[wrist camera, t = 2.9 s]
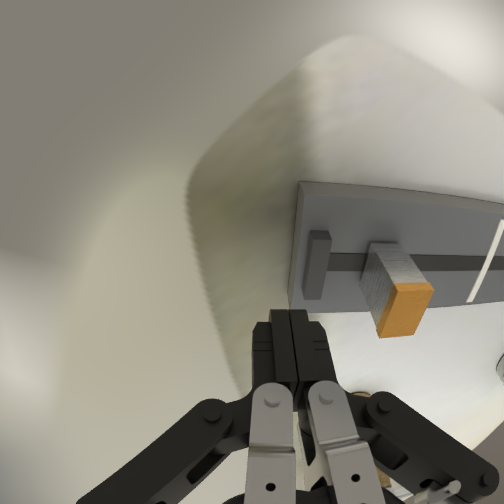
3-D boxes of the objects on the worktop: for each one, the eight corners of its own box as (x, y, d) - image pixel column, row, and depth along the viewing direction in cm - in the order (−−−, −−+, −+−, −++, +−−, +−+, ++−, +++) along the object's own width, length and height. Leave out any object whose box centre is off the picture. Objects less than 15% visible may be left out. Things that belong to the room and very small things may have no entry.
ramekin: (411, 461, 49) (416, 486, 43) (442, 456, 52) (448, 478, 46) (373, 480, 56) (377, 503, 50) (406, 476, 59) (411, 496, 53)
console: (527, 208, 17) (549, 226, 15) (496, 286, 21) (511, 307, 19) (299, 181, 17) (307, 202, 14) (287, 293, 21) (291, 324, 19)
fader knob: (402, 243, 16) (434, 290, 13) (388, 285, 18) (413, 335, 14) (369, 242, 16) (398, 291, 13) (358, 286, 18) (379, 338, 14)
